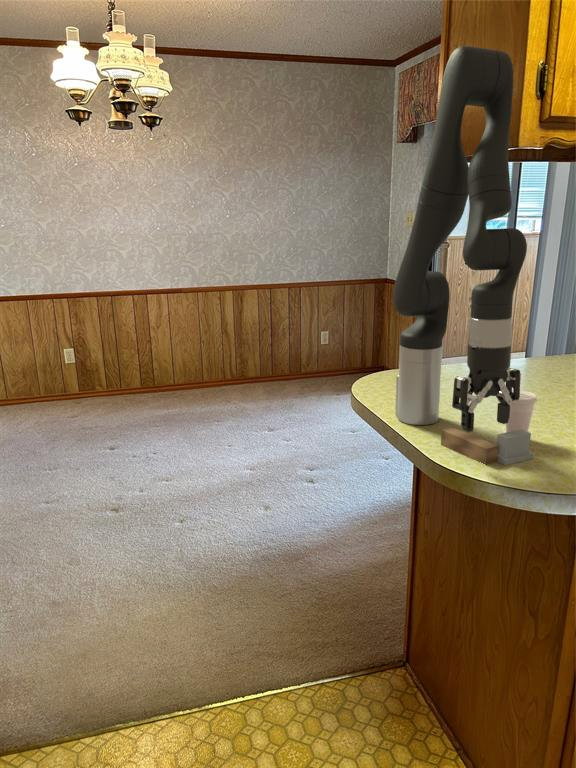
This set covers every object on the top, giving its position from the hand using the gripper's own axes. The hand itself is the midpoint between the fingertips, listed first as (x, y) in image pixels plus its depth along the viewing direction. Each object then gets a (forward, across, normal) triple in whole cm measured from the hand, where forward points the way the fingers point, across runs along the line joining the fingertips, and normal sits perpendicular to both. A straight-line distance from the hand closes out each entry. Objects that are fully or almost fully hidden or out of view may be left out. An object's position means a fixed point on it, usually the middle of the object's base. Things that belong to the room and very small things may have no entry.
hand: (485, 426), depth 114 cm
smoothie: (+7, -13, -4) cm, 15 cm away
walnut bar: (+7, 0, -4) cm, 8 cm away
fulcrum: (+7, -5, +2) cm, 9 cm away
